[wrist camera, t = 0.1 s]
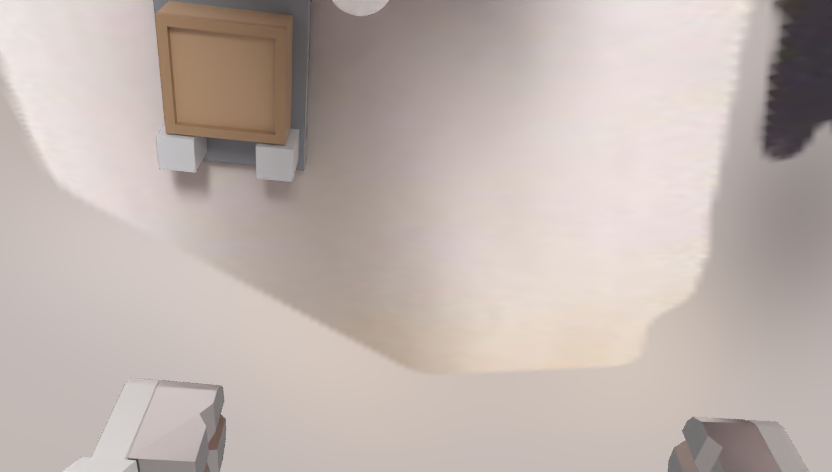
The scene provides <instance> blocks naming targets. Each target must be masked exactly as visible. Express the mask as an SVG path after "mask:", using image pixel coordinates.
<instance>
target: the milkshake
mask: <svg viewBox="0 0 832 472" xmlns="http://www.w3.org/2000/svg"><path fill="white" fill-rule="evenodd" d="M332 1H333V3H334V4H335V5H336V6H337V7H338V8H339V9H340V10H342V11H344V12H346V13H349V14H352V15H355V16H367V15H371V14H374V13H376V12H378V11H379V10H381V9H382V8H383V7H384V6H385V5H386V4H387V2H388V1H389V0H332Z"/></svg>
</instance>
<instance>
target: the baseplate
mask: <svg viewBox="0 0 832 472" xmlns="http://www.w3.org/2000/svg"><path fill="white" fill-rule="evenodd" d="M153 2H154V13H155V23H156V34H157V45H158V56H159V66H160V77H161V88H162V99H163V110H164V120H165V124H164V125H163V127H162V128H161V130H160V131H159V132H158V134H157V135H156V144H157V154H158V164H159V169H163V170H173V171H183V172H194V173H196V171H197V169H198V167H199V166H200V164H201V162H202V160H203V161H214V162H224V163H234V164H244V165H254V166H256V179H266V180H276V181H286V182H292V181H293V177H294V174H295V170H304V168H305V164H306V132H307V100H308V68H309V36H310V4H311V0H153Z"/></svg>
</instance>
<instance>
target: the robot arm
mask: <svg viewBox="0 0 832 472" xmlns="http://www.w3.org/2000/svg"><path fill="white" fill-rule="evenodd" d="M223 403H224V393H223V387H222V386H220V385H210V384H199V383H189V382H177V381H167V380H150V379H140V378H130V379H129V381H128V382H127V383H126V384H125V385H124V386H123V389H122V391H121V393H120V395H119V397H118V399H117V401H116V404H115V406H114V408H113V410H112V412H111V414H110V416H109V419H108V421H107V423H106V425H105V427H104V429H103V432H102V434H101V436H100V438H99V440H98V442H97V445H96V447H95V449H94V451H93V453H92V455H91V457H80V458H79V459H78V460H76V461H75V462H74V463H72V464H71V465H70V466H68V467H67V468H65V469H64V470H63V471H61V472H220V468H221V463H222V460H223V454H224V447H225V440H226V419H225V418H224V417H223V416H222V415H221V410H222V407H223ZM682 432H683V434H684V437H685V439H686V440H685V441H684V442H682V443H681V444H679V445H678V446H676V447H674V449H673V451H672V454H671V456H670V459H669V463H668V472H809V470H808V468H807V467H806V465H805V463H804V462H803V460H802V458H801V456H800V455H799V453H798V451H797V450H796V448H795V446H794V444H793V443H792V441H791V439H790V437H789V436H788V434H787V432H786V431H785V429H784V428H783V426H781V425H780V424H779V423H778V422H770V421H755V420H747V421H746V420H742V419H724V418H707V417H692V418H691V419H690V420H688V421H687V422H686V425H685V426H684V428H683V430H682Z"/></svg>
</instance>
